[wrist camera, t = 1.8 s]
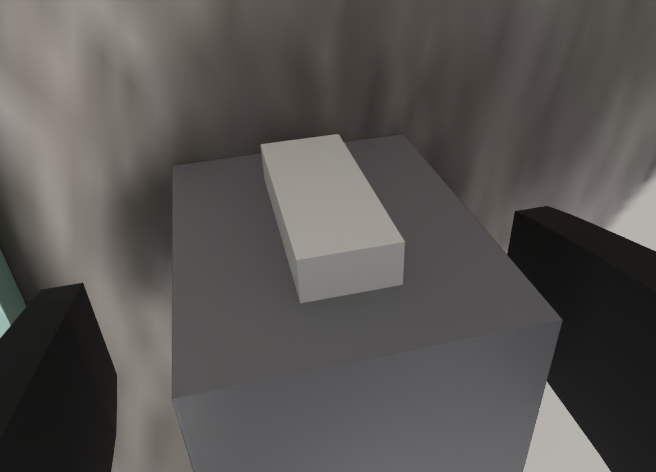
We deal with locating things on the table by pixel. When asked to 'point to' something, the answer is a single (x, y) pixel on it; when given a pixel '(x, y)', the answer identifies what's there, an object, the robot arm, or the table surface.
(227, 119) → the table surface
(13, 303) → the board
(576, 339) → the robot arm
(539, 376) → the plug
